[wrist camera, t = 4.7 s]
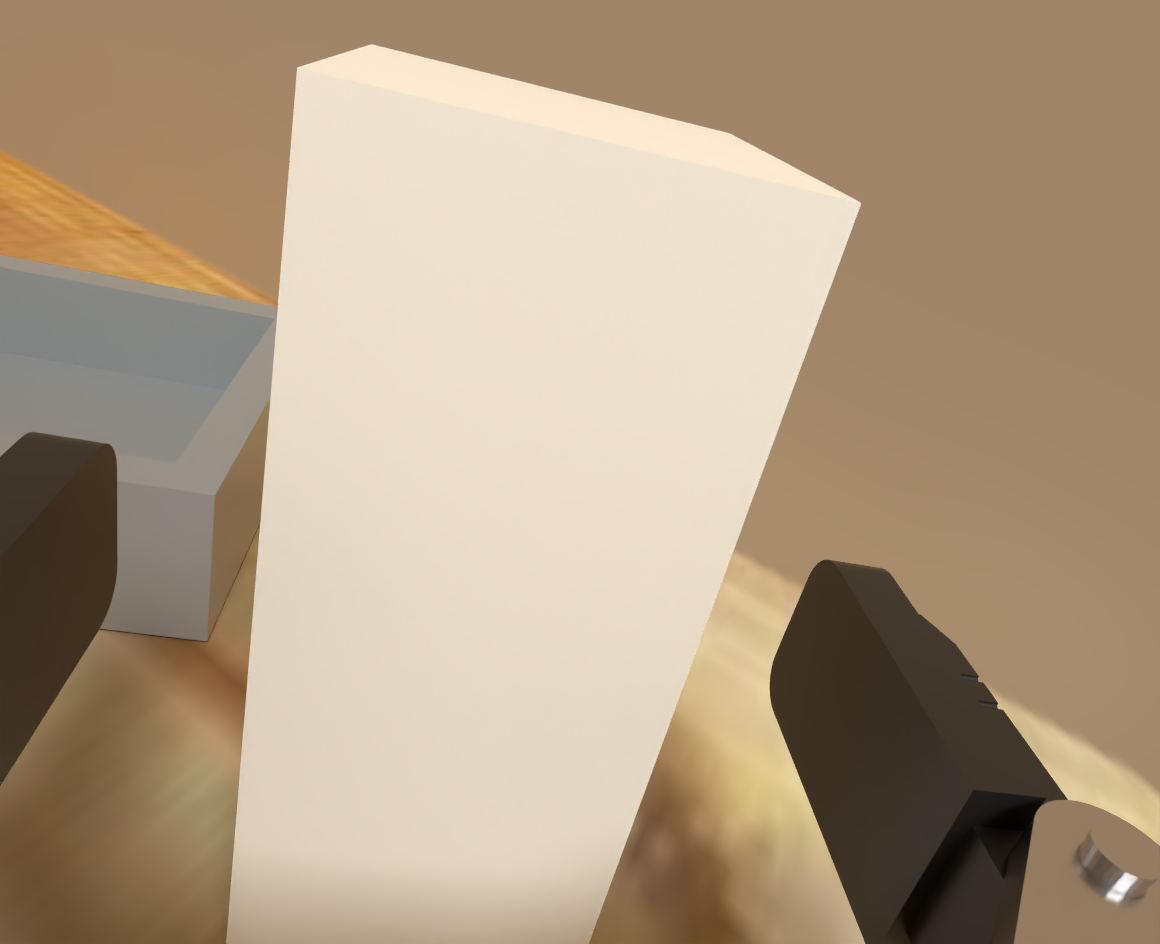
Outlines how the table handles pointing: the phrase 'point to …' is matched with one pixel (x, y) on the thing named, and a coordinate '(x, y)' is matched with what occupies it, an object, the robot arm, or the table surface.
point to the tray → (148, 423)
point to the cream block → (498, 488)
